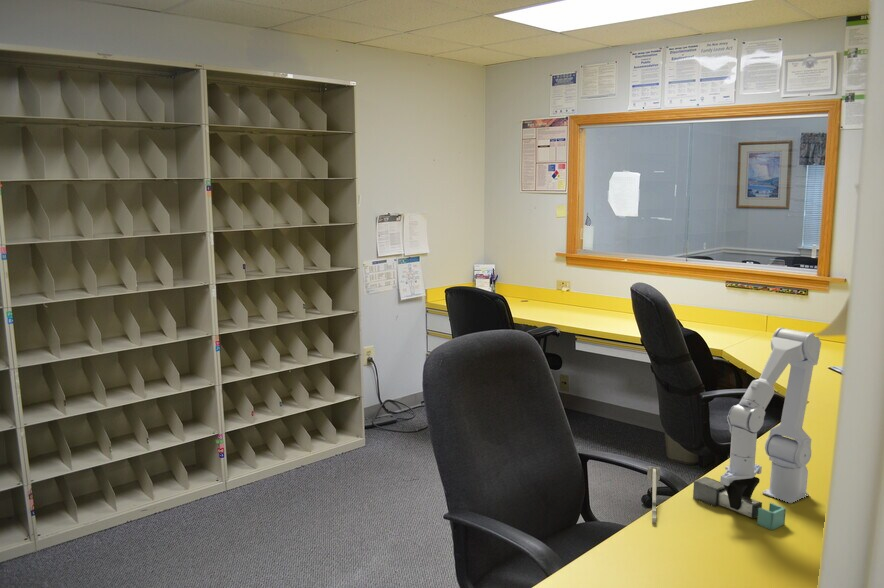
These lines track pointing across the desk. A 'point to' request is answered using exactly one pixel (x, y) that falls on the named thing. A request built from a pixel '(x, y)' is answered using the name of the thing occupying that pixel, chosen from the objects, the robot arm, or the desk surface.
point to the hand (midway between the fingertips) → (739, 506)
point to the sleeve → (707, 490)
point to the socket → (771, 517)
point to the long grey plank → (746, 507)
